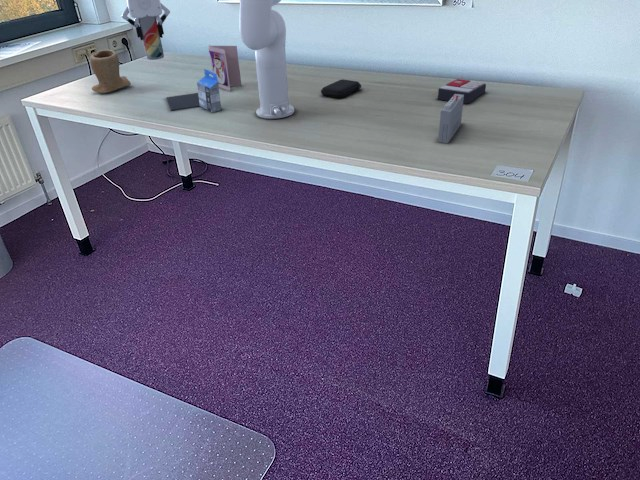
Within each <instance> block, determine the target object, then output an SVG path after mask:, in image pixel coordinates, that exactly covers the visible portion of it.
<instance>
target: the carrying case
mask: <svg viewBox="0 0 640 480" xmlns="http://www.w3.org/2000/svg"><path fill="white" fill-rule="evenodd" d="M361 89H362V84H361V83H360V82H359V81H357V80H349V79H344V78H343V79H339V80H337V81H334V82H332V83H330V84H328V85H325V86H323V87H322V88H321V89H320V93H321V95H322V96H324V97H329V98H334V99H342V98H344V97H347V96H348V95H349V96H350V94H353V93H355V92H357V91H359V90H361Z"/></svg>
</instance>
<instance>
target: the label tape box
mask: <svg viewBox="0 0 640 480" xmlns="http://www.w3.org/2000/svg"><path fill="white" fill-rule="evenodd" d="M203 70H204V76H203V77H202V78H200V79H199V80H197V82H196V89H197V93H198V96H199V104H200V106H201V107H200V108H203V109H205V110H207V111H208V112H211V113H215V112H216V113H217V112H219V111H222V105H221V104H222V103H221V95H220V87H219V85H218V79H217V75H216V74H215V73H213V72H212V70H209V69H206V68H203Z"/></svg>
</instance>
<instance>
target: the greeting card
mask: <svg viewBox="0 0 640 480" xmlns="http://www.w3.org/2000/svg"><path fill="white" fill-rule="evenodd" d="M207 47H208V54H209V60H210V67H211V72H213V73H215V74H216V75H217V79H218V85H219V89H222V90H223V89H224V90H226V91H229V92H231V87H242V86H243V85H242V78H241V69H240V62H239V61H240V60H239V55H238V53H239V52H238V46H237V45H207Z"/></svg>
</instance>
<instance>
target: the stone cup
mask: <svg viewBox="0 0 640 480" xmlns="http://www.w3.org/2000/svg"><path fill="white" fill-rule="evenodd" d="M89 63H90V67H91V70H92V73H93V74H94V75H95V77H96V79H97V81H98V83H97V84H95V85H93V86H92V87H91V90H92V91H93V92H95V93H99V94H106V93H110V92H114V91H117V90H120V89H123V88H125V87H128V86H131V81H130V80H129V79H128V77H127V76H126V75H122V76H120V59H119V57H118V54H117V52H116V51H115V50H112V49H100V50H97V51H95V52H94V53H92V54H91V55H90V56H89Z"/></svg>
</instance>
